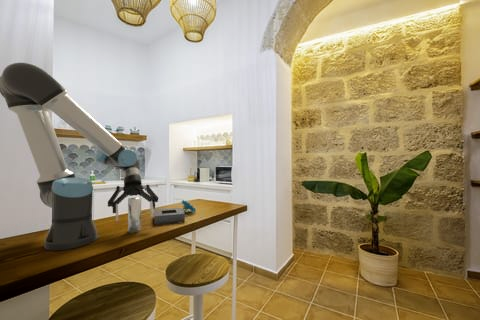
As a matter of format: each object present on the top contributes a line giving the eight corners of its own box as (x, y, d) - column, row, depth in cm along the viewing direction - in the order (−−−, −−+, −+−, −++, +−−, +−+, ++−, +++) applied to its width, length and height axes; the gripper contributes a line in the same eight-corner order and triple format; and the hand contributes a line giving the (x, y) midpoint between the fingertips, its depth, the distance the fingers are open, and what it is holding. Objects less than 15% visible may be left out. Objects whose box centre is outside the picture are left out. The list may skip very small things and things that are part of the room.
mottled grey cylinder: (127, 233, 86) (127, 199, 86) (128, 229, 90) (129, 197, 90) (140, 231, 88) (140, 199, 88) (141, 228, 92) (141, 197, 92)
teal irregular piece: (199, 210, 120) (187, 199, 117) (193, 218, 117) (180, 207, 114) (191, 209, 129) (180, 199, 125) (185, 217, 126) (173, 207, 122)
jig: (154, 224, 97) (154, 216, 98) (154, 217, 110) (154, 209, 110) (184, 221, 103) (184, 213, 103) (181, 214, 116) (181, 207, 116)
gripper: (158, 182, 109) (164, 217, 96) (101, 185, 96) (100, 226, 83) (160, 173, 105) (167, 208, 92) (101, 174, 91) (100, 215, 78)
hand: (135, 216), depth 87 cm, fingers open, 13 cm apart
